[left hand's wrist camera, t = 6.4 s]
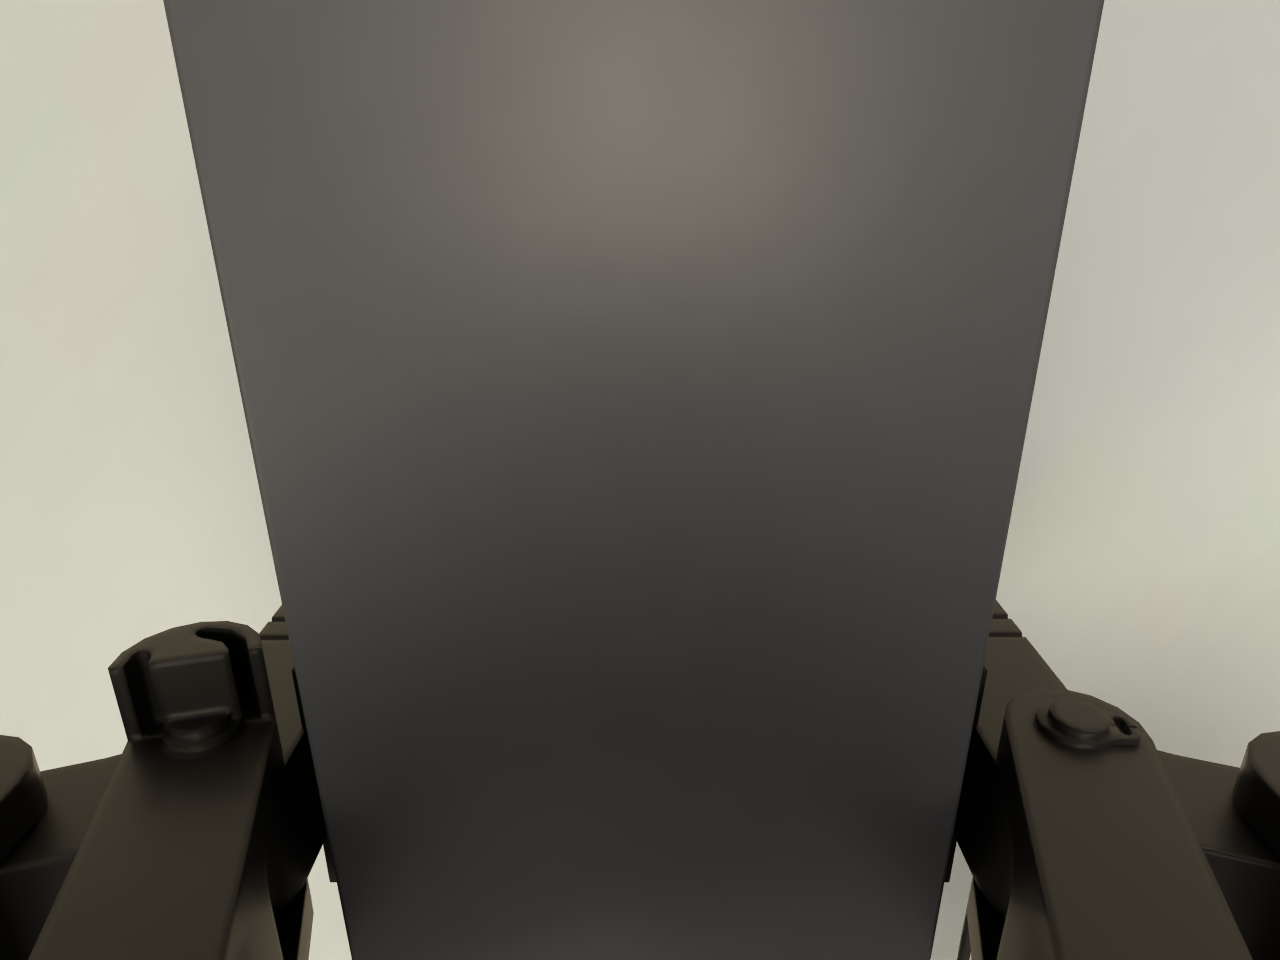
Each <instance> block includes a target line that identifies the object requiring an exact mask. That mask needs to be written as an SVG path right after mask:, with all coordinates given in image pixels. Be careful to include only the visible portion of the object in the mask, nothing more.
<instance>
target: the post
mask: <svg viewBox="0 0 1280 960" xmlns="http://www.w3.org/2000/svg"><path fill="white" fill-rule="evenodd" d="M163 1H164V6H165V11H166V16H167V21H168V26H169V31H170V36H171V41H172V46H173V52H174V57H175V62H176V67H177V72H178V77H179V82H180V87H181V92H182V97H183V102H184V107H185V113H186V118H187V123H188V128H189V133H190V138H191V143H192V148H193V153H194V158H195V163H196V168H197V174H198V179H199V184H200V189H201V194H202V199H203V204H204V209H205V214H206V219H207V224H208V229H209V235H210V240H211V245H212V250H213V255H214V260H215V265H216V270H217V275H218V280H219V285H220V290H221V296H222V301H223V306H224V311H225V316H226V321H227V326H228V331H229V336H230V341H231V346H232V351H233V356H234V362H235V367H236V372H237V377H238V382H239V387H240V392H241V397H242V402H243V407H244V412H245V417H246V423H247V428H248V433H249V438H250V443H251V448H252V453H253V458H254V463H255V468H256V473H257V478H258V484H259V489H260V494H261V499H262V504H263V509H264V514H265V519H266V524H267V529H268V534H269V539H270V545H271V550H272V555H273V560H274V565H275V570H276V575H277V580H278V585H279V590H280V595H281V600H282V606H283V611H284V616H285V621H286V626H287V631H288V636H289V641H290V646H291V651H292V656H293V661H294V667H295V672H296V677H297V682H298V687H299V692H300V697H301V702H302V707H303V712H304V717H305V722H306V728H307V733H308V738H309V743H310V748H311V753H312V758H313V763H314V768H315V773H316V778H317V783H318V788H319V794H320V799H321V804H322V809H323V814H324V819H325V824H326V829H327V834H328V839H329V844H330V849H331V855H332V860H333V865H334V870H335V875H336V880H337V885H338V890H339V895H340V900H341V905H342V910H343V916H344V921H345V926H346V931H347V936H348V941H349V946H350V951H351V956H352V960H930V958H931V952H932V947H933V941H934V936H935V930H936V925H937V919H938V914H939V908H940V903H941V897H942V892H943V886H944V881H945V875H946V870H947V864H948V859H949V853H950V848H951V842H952V837H953V831H954V826H955V820H956V815H957V809H958V804H959V798H960V793H961V787H962V781H963V776H964V770H965V765H966V759H967V754H968V748H969V743H970V737H971V732H972V726H973V721H974V715H975V710H976V704H977V699H978V693H979V688H980V682H981V677H982V671H983V666H984V660H985V655H986V649H987V644H988V638H989V633H990V627H991V622H992V616H993V610H994V605H995V599H996V594H997V588H998V583H999V577H1000V572H1001V566H1002V561H1003V555H1004V550H1005V544H1006V539H1007V533H1008V528H1009V522H1010V517H1011V511H1012V506H1013V500H1014V495H1015V489H1016V484H1017V478H1018V473H1019V467H1020V462H1021V456H1022V451H1023V445H1024V439H1025V434H1026V428H1027V423H1028V417H1029V412H1030V406H1031V401H1032V395H1033V390H1034V384H1035V379H1036V373H1037V368H1038V362H1039V357H1040V351H1041V346H1042V340H1043V335H1044V329H1045V324H1046V318H1047V313H1048V307H1049V302H1050V296H1051V291H1052V285H1053V280H1054V274H1055V268H1056V263H1057V257H1058V252H1059V246H1060V241H1061V235H1062V230H1063V224H1064V219H1065V213H1066V208H1067V202H1068V197H1069V191H1070V186H1071V180H1072V175H1073V169H1074V164H1075V158H1076V153H1077V147H1078V142H1079V136H1080V131H1081V125H1082V120H1083V114H1084V109H1085V103H1086V97H1087V92H1088V86H1089V81H1090V75H1091V70H1092V64H1093V59H1094V53H1095V48H1096V42H1097V37H1098V31H1099V26H1100V20H1101V15H1102V9H1103V4H1104V0H163Z"/></svg>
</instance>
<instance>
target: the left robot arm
mask: <svg viewBox="0 0 1280 960" xmlns="http://www.w3.org/2000/svg"><path fill="white" fill-rule="evenodd" d="M108 670H109V674H110V677H111V681H112V685H113V688H114V692H115V695H116V699H117V703H118V706H119V710H120V714H121V717H122V721H123V724H124V728H125V732H126V735H127V739H128V742H127V744H126V747H125V749H124V751H123V753H122V754H120V755H116V756H112V757H109V758H105V759H100V760H95V761H90V762H85V763H80V764H75V765H71V766H66V767H61V768H56V769H51V770H46V771H41V772H40V770H39V767H38V764H37V761H36V758H35V755H34V752H33V749H32V747H31V746H30V745H28V744H27V743H26V742H24V741H23V740H22V739H20V738H19V737H12V736H4V735H0V960H308V958H309V949H310V940H311V931H312V922H313V907H312V901H311V894H310V889H309V884H308V879H307V878H308V875H309V873H310V871H311V869H312V867H313V864H314V862H315V860H316V858H317V856H318V853H319V851H320V849H321V847H322V845H323V846H324V851H325V857H326V862H327V868H328V873H329V879H330V882H337V880H336V875H335V870H334V865H333V860H332V855H331V849H330V844H329V839H328V834H327V829H326V824H325V819H324V814H323V809H322V804H321V799H320V794H319V788H318V783H317V778H316V773H315V768H314V763H313V758H312V753H311V748H310V743H309V738H308V733H307V728H306V722H305V717H304V712H303V707H302V702H301V697H300V692H299V687H298V682H297V677H296V672H295V667H294V661H293V656H292V651H291V646H290V641H289V636H288V631H287V626H286V621H285V616H284V611H283V606H281V607H280V608H279V609H278V611H277V612H276V613H275V614H274V616H273V617H272V622H268V623H267V625H266V626H265V627H264V628H263V630H262V631H261V632H260V633H257V632H256V631H254V630H253V629H252V628H250V627H249V626H248V625H243V624H239V623H234V622H229V621H217V622H199V623H194V624H190V625H185V626H180V627H175V628H171V629H169V630H166V631H164V632H161V633H158V634H156V635H153V636H150V637H148V638H145V639H143V640H142V641H140V642H139V643H137V644H135V645H134V646H132V647H130V648H129V649H127V650H126V651H124V652H122V653H121V654H120V655H119V657H118V658H117V659H116V660H115V661H114V662H113V663H112V664H111V665H110V666H109V668H108ZM956 842H958V844H959V847H960V849H961V851H962V853H963V855H964V857H965V860H966V862H967V864H968V866H969V868H970V870H971V873H972V875H973V879H972V884H971V889H970V894H969V900H968V905H967V910H966V915H965V920H964V925H963V930H962V935H961V941H960V946H959V952H958V958H957V960H969V958H970V953H971V956H972V960H1280V731H1278V732H1270V733H1262V734H1260V735H1259V736H1257V737H1256V738H1255V739H1253V740H1252V741H1251V742H1249V743H1248V746H1247V749H1246V752H1245V755H1244V758H1243V761H1242V764H1241V767H1240V768H1237V767H1232V766H1227V765H1222V764H1217V763H1212V762H1208V761H1203V760H1198V759H1193V758H1188V757H1183V756H1178V755H1173V754H1170V753H1166V752H1162V751H1158V750H1157V749H1156V747H1155V745H1154V743H1153V741H1152V739H1151V738H1150V736H1149V735H1148V734H1147V733H1146V731H1145V730H1144V729H1143V727H1142V726H1141V725H1140V723H1139V722H1137V721H1136V720H1134V719H1133V718H1132V717H1130V716H1129V715H1127V714H1126V713H1125V712H1123V711H1122V710H1120V709H1119V708H1118V707H1115V706H1113V705H1111V704H1109V703H1106V702H1104V701H1102V700H1100V699H1097V698H1095V697H1093V696H1090V695H1086V694H1082V693H1077V692H1073V691H1069V690H1067V689H1066V688H1065V686H1064V685H1063V684H1062V682H1061V681H1060V680H1059V679H1058V677H1057V676H1056V675H1055V674H1054V672H1053V671H1052V670H1051V669H1050V667H1049V666H1048V665H1047V664H1046V662H1045V661H1044V660H1043V659H1042V657H1041V656H1040V655H1039V654H1038V652H1037V651H1036V650H1035V648H1034V647H1033V646H1032V645H1031V643H1030V642H1029V641H1028V640H1027V638H1026V637H1022V632H1021V631H1020V630H1019V628H1018V627H1017V626H1016V625H1015V623H1014V622H1013V621H1012V620H1011V619H1008V614H1007V613H1006V612H1005V611H1004V609H1003V608H1002V607H1001V606H1000V604H999V603H998V602H997V601H996V599H995V605H994V610H993V616H992V622H991V627H990V633H989V638H988V644H987V649H986V655H985V660H984V666H983V671H982V677H981V682H980V688H979V693H978V699H977V704H976V710H975V715H974V721H973V726H972V732H971V737H970V743H969V748H968V754H967V759H966V765H965V770H964V776H963V781H962V787H961V793H960V798H959V804H958V809H957V815H956V820H955V826H954V831H953V837H952V842H951V848H950V853H949V859H948V864H947V870H946V875H945V881H944V882H949V880H950V875H951V869H952V864H953V858H954V853H955V847H956Z"/></svg>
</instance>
